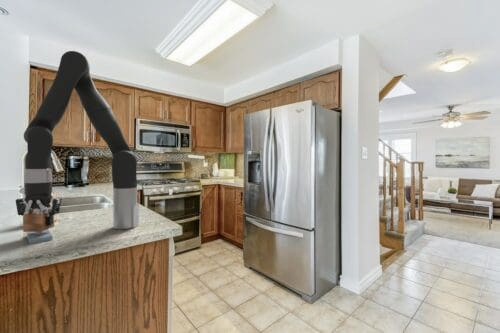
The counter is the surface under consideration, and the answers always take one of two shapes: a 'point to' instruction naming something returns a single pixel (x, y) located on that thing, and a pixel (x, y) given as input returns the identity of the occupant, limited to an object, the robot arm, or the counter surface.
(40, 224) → the brown wooden cube
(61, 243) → the counter surface
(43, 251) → the counter surface
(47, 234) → the grey peg stand
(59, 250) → the counter surface
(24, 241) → the counter surface
